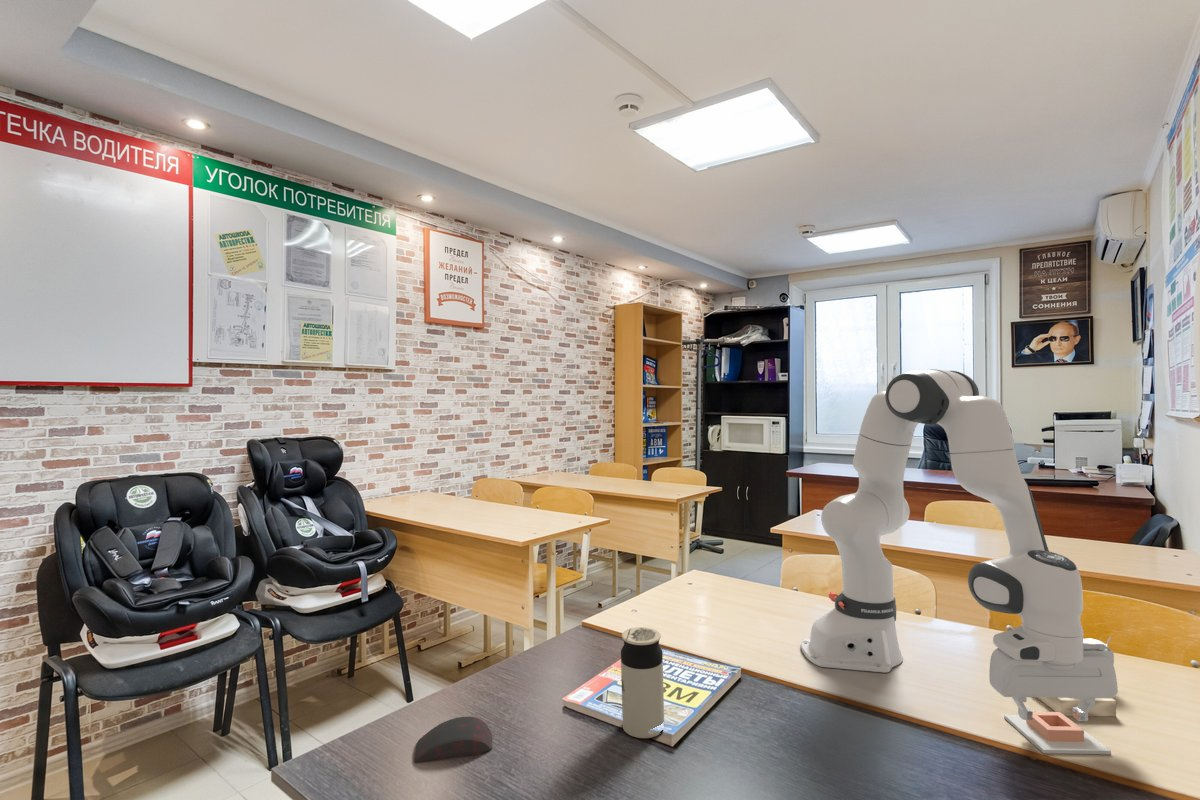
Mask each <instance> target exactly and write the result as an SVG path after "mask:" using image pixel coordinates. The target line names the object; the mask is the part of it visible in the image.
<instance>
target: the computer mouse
mask: <svg viewBox="0 0 1200 800" xmlns="http://www.w3.org/2000/svg"><path fill="white" fill-rule="evenodd" d="M492 736H493V734H492V732H491V730H490V727H489V726H488V724H487V723H486V722H485V721H484V720H483V719H480V718H479V717H476V716H459V717H454V718H452V719H448V720H446V721H443V722H441V723H439V724H437V725H436V726H435V727H433V728H432V729H430V730H429V731H427V732H426V733H425V734H424V735H422V736H421V737H420V738H419V739H418V740H417V742H416V747H415V754H414V759H413V760H414V761H413V762H414V763H415V764H419V763H421V764H422V763H428V762H434V761H444V760H449V759H457V758H463V757H469V756H476V755H481V754H484V753H486V752H490V751H492V750H493V737H492Z"/></svg>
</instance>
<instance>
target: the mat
mask: <svg viewBox="0 0 1200 800" xmlns="http://www.w3.org/2000/svg"><path fill="white" fill-rule="evenodd" d="M1003 718H1004V719H1005V720H1006V721H1007V722H1008V723H1009V724H1010V725H1012V727H1014V728H1015V729H1016V730H1017V731H1018V732H1019V733H1020V734H1022V736H1023V737H1025V739H1027V740H1028V741H1029V742H1030V743H1032V744H1033V746H1035V747H1036V748H1037V749H1038V750H1039V751H1041V752H1042V753H1043V754H1062V755H1063V754H1069V755H1070V754H1071V755H1072V754H1073V755H1074V754H1075V755H1111V754H1112V751H1111V750H1110V749H1109V748H1108V747H1106V746H1105V745H1104V744H1103V743H1101V742H1100V741H1099V740H1097V739H1096V738H1095V737H1093V736H1092V735H1091V734H1089V733H1088V732H1087V731H1085V730H1084V742H1062V741H1047V740H1046V739H1045V738H1044V737H1043V736H1042V735H1040V734H1039V733H1038V732H1037V731H1036V730H1035V729H1033V728H1032V727H1031V726H1030V725H1029V724H1028V723H1027V722H1026V720H1023V719H1022V718H1021V717H1020V716H1019V714H1004V715H1003ZM1067 718H1068V717H1067ZM1068 719H1070V718H1068ZM1072 722H1073V723H1075V722H1074V721H1072ZM1076 725H1077V726H1079V725H1078V724H1076ZM1080 728H1081V729H1083V728H1082V727H1080Z"/></svg>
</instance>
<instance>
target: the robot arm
mask: <svg viewBox="0 0 1200 800" xmlns="http://www.w3.org/2000/svg"><path fill="white" fill-rule="evenodd" d="M1008 420H1009V419H1008V417H1007V414H1006V413H1005V409H1004V408H1003V405H1002V404H1001V402H999V401H998V400H996V399H995V398H992V397H988V396H983V395H980V390H979V386H978V385H977V383H976V382H975V380H973V378H971V377H970V376H968V375H967V374H965V373H962V372H959V371H957V370H945V369H937V368H935V369H932V368H931V369H927V370H925V369H924V370H910V371H906V372H903V373H900V374H899V375H896V376H894V378H892V379H891V381H890V382H889V383H888V385H887V387H886V389H885V390H881V391H879V392H876V393H875V394H874V395H873V397H872V398H871V400H870V402H869V404H868V407H867V409H866V410H865V414H864V416H863V418H862V422H861V425H860V429H859V434H858V437H857V441H856V445H855V450H854V454H853V455H854V456H853V459H852V465H853V468H854V469H855V471H856V472H857V474H858V488H857V491H856V492H854V493H850V494H844V495H840V496H838V497H836V498H834V499H832V500H831V501H830V502H828V503H827V504H825V505H824V507H823V509H822V511H821V515H820V519H821V521H820V522H821V525H822V528H823V530H824V531H825V533H826V535H828V536H829V538H831V539H832V540H833V541H834V543H835V545H836V547H837V550H838V553H839V556H840V561H841V562H840V563H841V571H842V576H841V577H842V591H841V593H839V594H837V593H836V592H835V591H833V590H832V591H829V593H828V594H827V597H828V599H830V600H831V601H832V602H834V608H832V609H831V610H829V611H828V612H826V613H825V614H824V615H822V616H821V617H819V618H818V619H815V621H814V622H813V623H812V626H811V629H810V637H805V638H803V639H802V640H801V641H800V642H801V644H800V649H801V652H802V654H803V655H804V657H806V659H807V660H808V661H810V662H811V663H813V664H814V665H815V666H817V667H820V668H821V667H822V668H831V669H832V668H833V669H842V670H851V671H852V670H853V671H862V672H864V671H865V672H874V673H875V672H876V673H886V674H887V673H889V672H891V671H892V669H893V668H894V667H897V666H898V665H900V664H901V663H903V659H904V658H903V655H902V651H901V649H900V643H899V641H898V640H899V639H898V635H897V629H896V621H897V602H896V601H897V600H896V597H895V596H894V568H893V564H892V562H891V561H890V560H889V559H888V558H887V557H886V556H885V555H884V552H883V549H882V545H881V537H882V536H885V535H889V534H892V533H894V532H896V531H898V530H899V529H901V528H902V527H903V526H904V525H905V524H906V523H907V522H908V520H909V518H910V513H911V510H910V506H909V503H908V501H907V499H906V498H905V492H904V479H905V478H904V476H905V471H906V466H907V462H908V459H909V454H910V451H911V450H910V449H911V446H912V443H913V439H914V434H915V430H916V428H917V426H918V424H923V425H928V426H934V425H936V424H938V425H939V426H940V427H941V428H942V429H944V432H945V433H946V438H947V441H948V448H949V456H950V457H949V459H950V464H951V465H950V466H951V470H952V473H953V475H954V478H955V479H956V483H958V485H960V486H961V487H962V488H963V489H964V490H966V491H967V493H968V492H969V493H970V494H972V495H974V496H976V497H979V498H982V499H984V500H986V501H988V502H990V504H992V505H994V507H996V509H997V510H998V511H999V514H1000V516H1001V519H1002V523H1003V525H1004V530H1005V534H1006V537H1007V541H1008V544H1009V554H1008V555H1007V556H1005V557H1001V558H999V557H998V558H993V559H989V560H985V561H981V562H979V563H976V564H974V565H973V566H972V567H971V569H970V570H969V573H968V575H967V585H968V588H969V591H970V594H971V596H972V597H973V598H974V600H975V601H976V602H977V603H978V604H979V605H981V606H982V607H983V608H984V609H987V610H988V611H991V612H997V613H1001V614H1002V613H1003V614H1009V615H1010V614H1011V615H1018V616H1019V617H1020V618H1021V625H1019V626H1017V627H1014V628H1011V629H1009V630H1005V631H1003V632H999V633H998V632H997V633H996V634H994V636H993V638H992V642H993V645H995V647H996V649H994V650H993V651H992V652H991V656H990V660H989V671H988V672H989V675H988V677H989V678H988V679H989V684H990V686H991V687H992V688H993V689H994V690H995V691H996V692H997V693H998V694H999V695H1001V696H1003V697H1005V698H1012V700H1013V701H1014V703H1015V705H1016V706H1017V708H1018V709H1017V710H1018V711H1017V713H1018V714H1017V715H1019V716H1020V717H1021V718H1022V719H1023V720H1033V717H1032V716H1033V712H1034V711H1033V710H1032V709H1031V708H1029V707H1028V706H1027V705H1025V704H1024V703H1027V701H1028V700H1027V698H1037V697H1045V698H1081V700H1080V702H1079V704H1078V706H1077V707H1072V711H1073V716H1072V717H1073V718H1074V719H1076V720H1077V721H1079V722H1089V716H1088V712H1089V711H1090V710H1091V709H1092V707H1093V706H1094V704H1095V698H1112V699H1114V698H1115V697H1116V696H1117V694H1118V691H1119V690H1118V688H1119V687H1118V680H1117V674H1116V669H1115V666H1114V664H1115V654H1114V651H1113V650H1112V649H1111V648H1110V647H1109V646H1108V647H1106V646H1105V645H1104V644H1105V643H1104V644H1086V643H1083V639H1084V628H1083V626H1082V623H1081V616H1082V613H1083V610H1084V598H1083V595H1084V593H1083V583H1082V577H1081V575H1080V570H1079V569H1078V567H1077V565H1076V564H1075V562H1074V561H1072V560H1071V559H1069V558H1068V557H1066V556H1064V555H1063V554H1060V553H1057V552H1053V551H1050V550H1049V547H1048V544H1047V542H1046V537H1045V534H1044V531H1043V526H1042V523H1041V519H1040V515H1039V513H1038V509H1037V505H1036V502H1035V498H1034V497H1033V493H1032V490H1031V488H1030V486H1029V485H1028V483H1027V481H1026V480H1025V478H1024V477H1023V474H1022V472H1021V471H1022V470H1021V469H1020V466H1019V463H1018V458H1017V453H1016V448H1015V442H1014V438H1013V434H1012V429H1011V425H1010V423H1009V421H1008Z"/></svg>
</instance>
